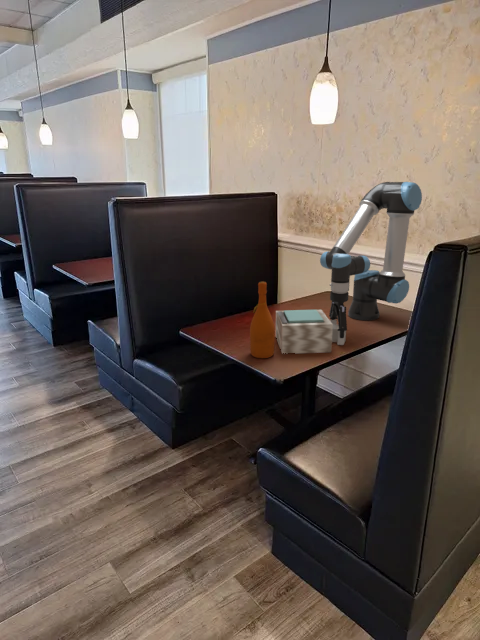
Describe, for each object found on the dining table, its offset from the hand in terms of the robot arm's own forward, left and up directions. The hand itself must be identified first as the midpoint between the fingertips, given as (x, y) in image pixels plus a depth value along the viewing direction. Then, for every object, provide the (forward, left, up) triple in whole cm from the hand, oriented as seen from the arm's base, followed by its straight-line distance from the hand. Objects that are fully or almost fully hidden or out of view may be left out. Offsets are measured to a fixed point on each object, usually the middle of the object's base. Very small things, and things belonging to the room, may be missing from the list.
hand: (336, 339), depth 188 cm
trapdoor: (+16, +4, +12) cm, 20 cm away
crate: (+16, +4, 0) cm, 16 cm away
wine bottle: (+34, +14, 0) cm, 37 cm away
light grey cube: (0, 0, 0) cm, 0 cm away
